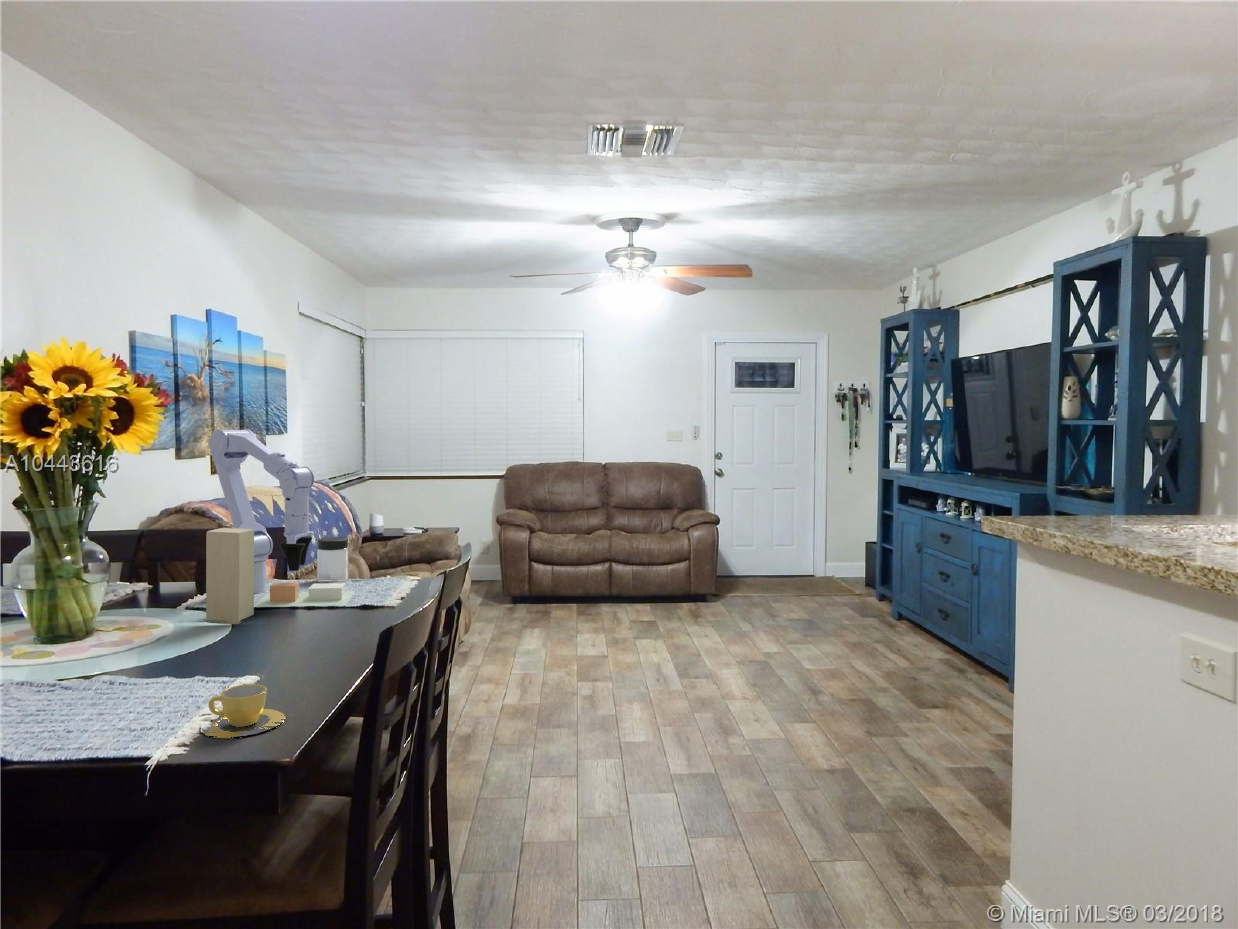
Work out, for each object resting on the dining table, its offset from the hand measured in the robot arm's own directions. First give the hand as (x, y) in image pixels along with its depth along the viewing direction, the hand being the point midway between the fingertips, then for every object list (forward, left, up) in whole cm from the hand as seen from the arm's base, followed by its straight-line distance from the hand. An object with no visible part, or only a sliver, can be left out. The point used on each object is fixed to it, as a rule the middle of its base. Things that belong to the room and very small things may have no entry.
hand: (296, 567), depth 204 cm
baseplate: (+2, -1, -9) cm, 9 cm away
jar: (+4, +26, -9) cm, 28 cm away
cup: (+10, -84, -9) cm, 85 cm away
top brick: (-3, -2, -8) cm, 8 cm away
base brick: (+7, 0, -8) cm, 11 cm away
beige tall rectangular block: (-11, -18, -9) cm, 23 cm away
